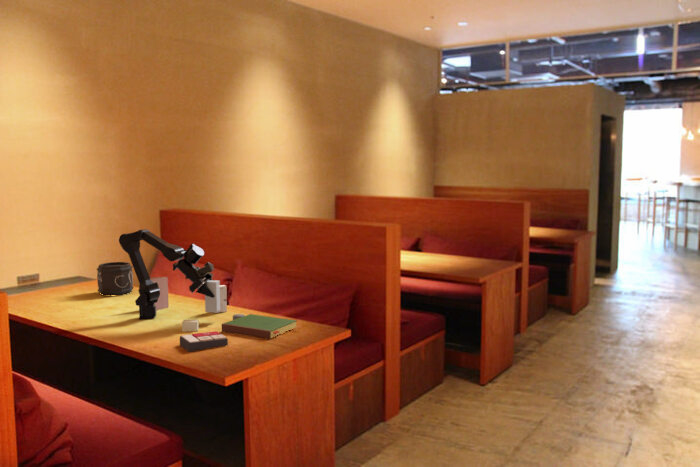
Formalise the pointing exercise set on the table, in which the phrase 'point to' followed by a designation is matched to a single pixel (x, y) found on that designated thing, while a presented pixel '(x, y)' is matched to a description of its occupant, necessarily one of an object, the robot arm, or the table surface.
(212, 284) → the light grey block
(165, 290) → the greeting card
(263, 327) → the hardcover book
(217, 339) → the calculator
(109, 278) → the dark decorated pot
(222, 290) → the skincare box
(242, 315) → the grey rounded dome
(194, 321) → the cream block
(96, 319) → the table surface
